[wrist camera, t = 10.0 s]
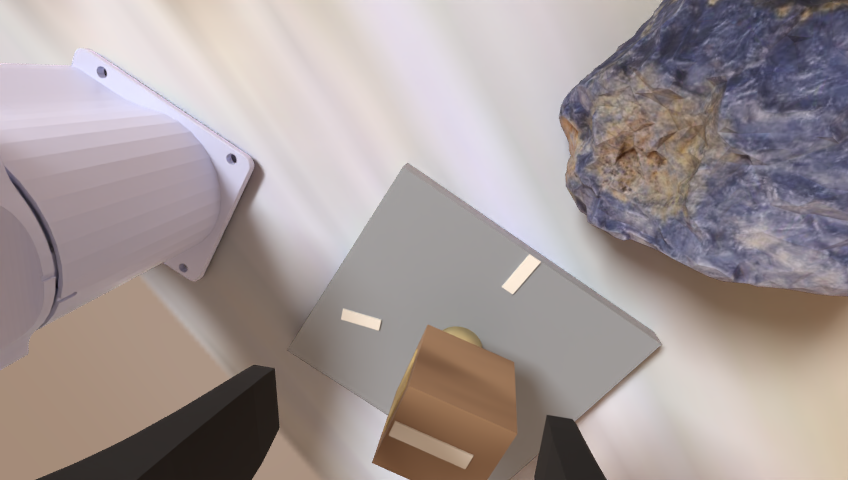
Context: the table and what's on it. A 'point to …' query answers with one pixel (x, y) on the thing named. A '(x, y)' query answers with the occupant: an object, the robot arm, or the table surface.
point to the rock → (723, 141)
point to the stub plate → (467, 312)
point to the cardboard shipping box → (450, 412)
